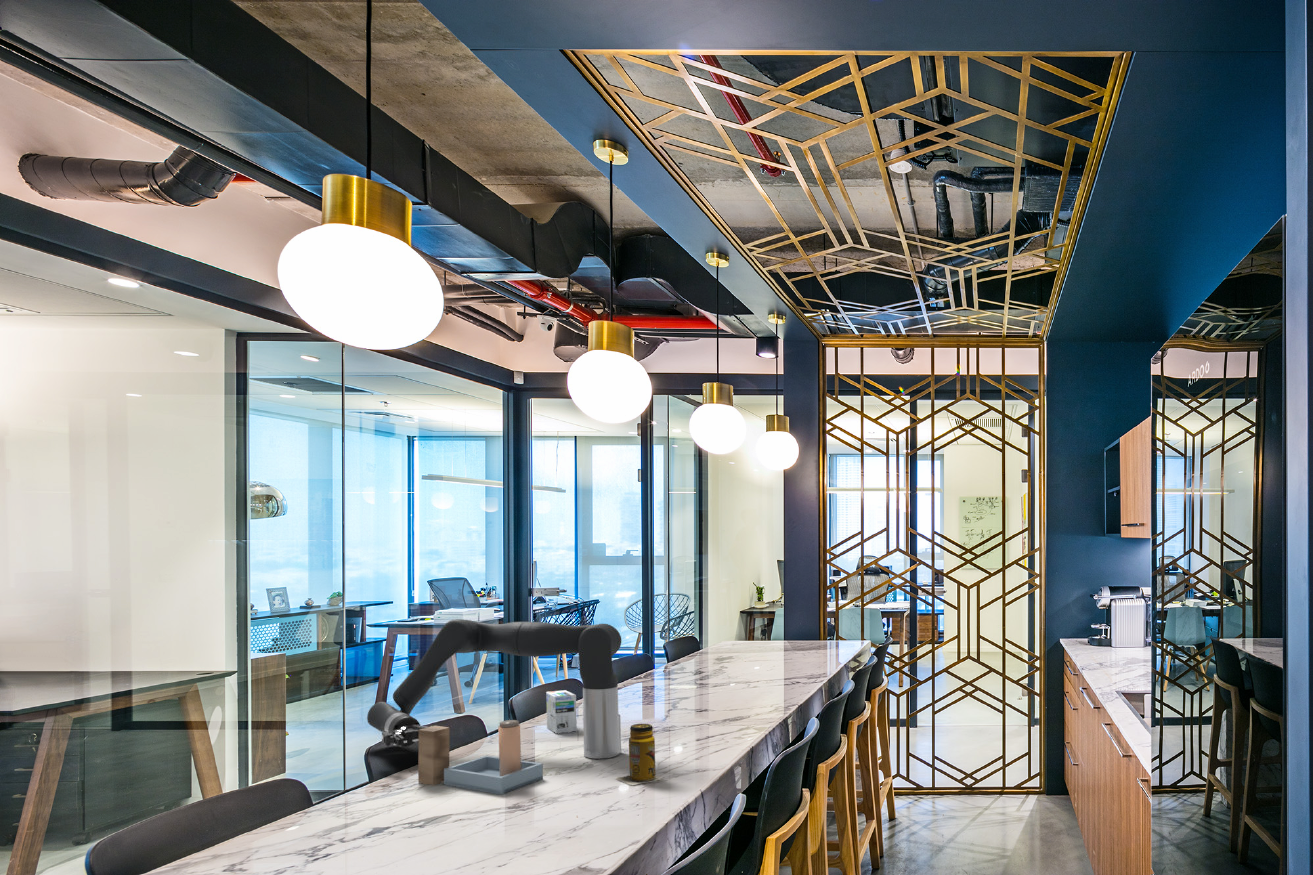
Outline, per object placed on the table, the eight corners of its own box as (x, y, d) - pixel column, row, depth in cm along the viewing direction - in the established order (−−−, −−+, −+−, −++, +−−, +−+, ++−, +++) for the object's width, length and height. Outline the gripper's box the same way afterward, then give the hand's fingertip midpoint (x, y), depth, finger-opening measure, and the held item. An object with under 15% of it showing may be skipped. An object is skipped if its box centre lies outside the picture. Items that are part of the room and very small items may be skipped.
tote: (487, 770, 206) (486, 755, 206) (542, 779, 196) (542, 763, 197) (444, 784, 194) (444, 768, 195) (501, 794, 185) (501, 778, 185)
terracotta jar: (510, 774, 197) (509, 719, 199) (526, 777, 195) (524, 720, 196) (495, 780, 193) (493, 723, 195) (510, 783, 190) (509, 725, 192)
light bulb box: (577, 731, 247) (576, 694, 249) (555, 734, 245) (554, 696, 246) (567, 725, 257) (566, 689, 258) (545, 727, 254) (545, 691, 256)
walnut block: (434, 777, 201) (434, 725, 203) (449, 779, 198) (449, 727, 200) (418, 782, 197) (418, 729, 198) (433, 785, 194) (433, 731, 196)
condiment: (663, 779, 193) (661, 725, 195) (631, 786, 188) (630, 730, 190) (645, 773, 199) (644, 720, 201) (615, 779, 194) (614, 725, 196)
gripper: (374, 717, 219) (391, 728, 205) (429, 710, 226) (448, 720, 212) (374, 747, 218) (390, 760, 204) (428, 739, 225) (447, 751, 211)
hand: (419, 740), depth 208 cm, fingers open, 8 cm apart
